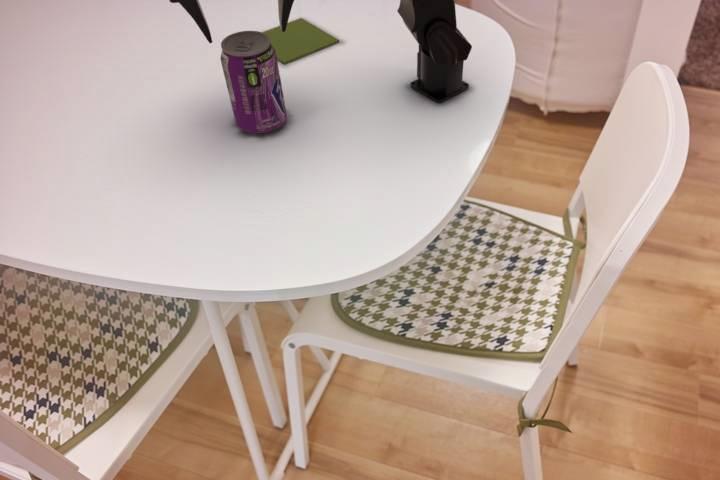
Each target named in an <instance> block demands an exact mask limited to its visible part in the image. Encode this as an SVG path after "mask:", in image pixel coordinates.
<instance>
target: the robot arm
mask: <svg viewBox="0 0 720 480" xmlns="http://www.w3.org/2000/svg"><path fill="white" fill-rule="evenodd" d="M168 1H169V3H171V4H176V3H177V4H179V5H180V6H181V7H182V8H183V9H184V10H185V11H186V13H188V15H189V16H190V18H192V20H193V21H194V22H195V24H196V25H197V27H198V28H199V30H200V32H202V34H203V36H204V37H205V39H206V40H207V42H208V43H209V44H213V39H212V35H211V30H210V27H209V24H208V21H207V18H206V16H205V13H204V11H203V8H202V5H201V3H200V0H168ZM294 3H295V0H277V6H278V7H277V9H278V21H279V26H280V27H281V31H282V32H285V31H286V27H287V23H289V19H290V15H291V11H292V8H293V5H294ZM397 13H398V14H399V17H401V19H402V21H403V24H404V25H405V26H406V28H407V29H408V31H409V32H410V34H411V35H412V37H413V38H414V40H415V41H416V43H417V44H418V52H417V53H416V78H417V79H415V80H413V81H411V82H410V84H409V85H410V88H412V89H414V90H416V91H417V92H419V93H420V94H422V95H424V96H426V97H427V98H429V99H431V100H433V102H436V103H439V104H440V103H442V102H444V101H447V100H449V99H451V98H453V97H454V96H456V95H458V94H460V93H462V92H464V91H466V90H468V89H470V84H469V83H468V82H466V81H464V80H463V75H464V62H465V61H467V60H468V59H469V55H470V53H471V51H472V49H473V46H472V44H471V43H470V42H469V40H468V39H467V38H466V37H465V35H464V34H463V33H462V31H461V30H460V29H459V28H458V24H457V12H456V2H455V0H399V6H398V8H397Z"/></svg>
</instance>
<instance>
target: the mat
mask: <svg viewBox="0 0 720 480" xmlns="http://www.w3.org/2000/svg"><path fill="white" fill-rule="evenodd" d="M261 32H262V33H265V34H266V35H268V36H269V38H270V42H271V45H272V46H273V48H274V49H275V51H276V55H277V61H279V62H280V63H281V64H283V65H286V64H289V63H292V62H294V61H297V60H299V59H301V58H304V57H306V56H309V55H311V54H314V53H316V52H318V51H321V50H324V49H326V48H329V47H332V46H333V45H336V44H338V43H340V39H339V38H337V37H335V36H333V35H331V34H329V33H328V32H326V31H324V30H323V29H321V28H319V27H317V26H316V25H315V24H313V23H311V22H310V21H307V20H305V19H304V18H302V17H300V18H297V19H293V20H292V21H288V23H287V27H286V31H285V32H282V31H281V27H280V25H278V26H276V27H273V28H270V29H268V30H265V31H261Z"/></svg>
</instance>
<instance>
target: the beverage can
mask: <svg viewBox="0 0 720 480" xmlns="http://www.w3.org/2000/svg"><path fill="white" fill-rule="evenodd" d="M262 32H263V31H257V30H242V31H237V32H233V33H231V34H228V35H227V36H225V38H223V39H222V41H221V42H220V47H221V53H220V62H221V68H222V71H223V76H224V80H225V84H226V88H227V93H228V97H229V100H230V106H231V110H232V113H233V118H234V121H235V125H236V127H238V129H240V130H242V131H244V132H247V133H251V134H262V133H263V134H264V133H268V132H272V131H274V130H276V129H278V128H280V127H281V126H282V125H283V124H284V123H285V122H286V121H287V116H288V115H287V110H286V109H287V108H286V104H285V97H284V92H283V85H282V79H281V74H280V67H279V62H278V61H279V60H277V55H276V51H275V49H274V48H273V46H272V45H271V42H270V38H269V36H268V35H266V34H265V33H262Z"/></svg>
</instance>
